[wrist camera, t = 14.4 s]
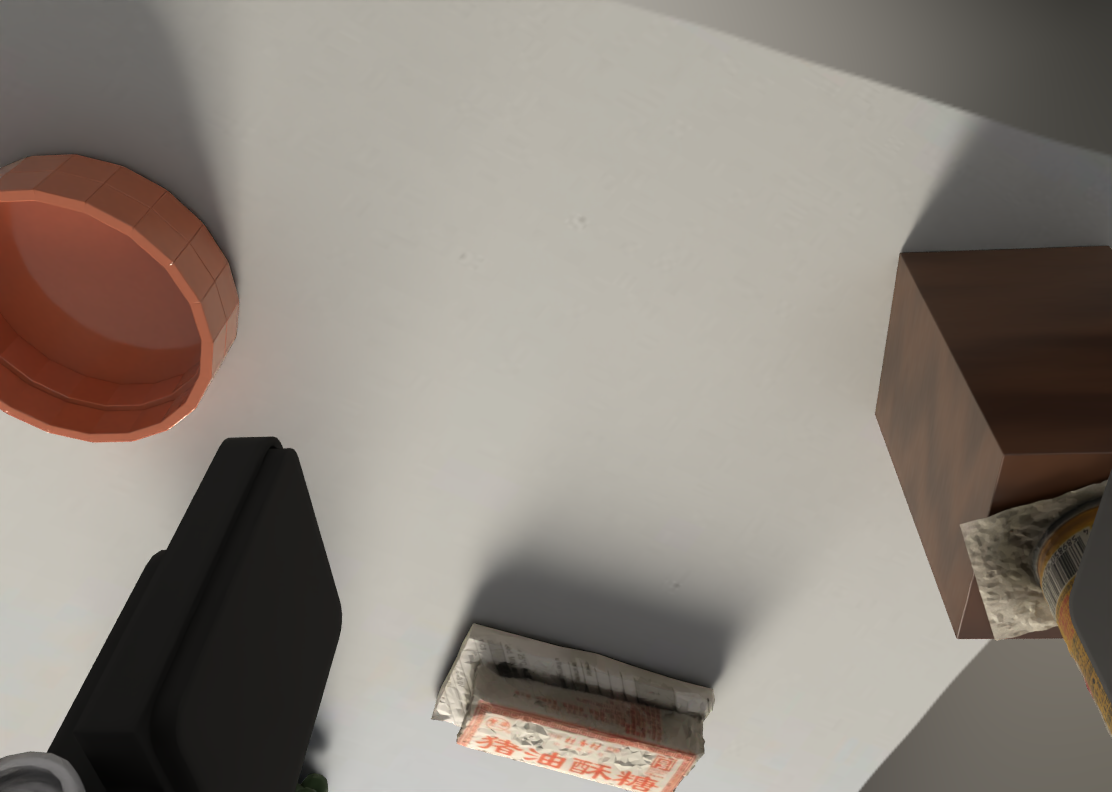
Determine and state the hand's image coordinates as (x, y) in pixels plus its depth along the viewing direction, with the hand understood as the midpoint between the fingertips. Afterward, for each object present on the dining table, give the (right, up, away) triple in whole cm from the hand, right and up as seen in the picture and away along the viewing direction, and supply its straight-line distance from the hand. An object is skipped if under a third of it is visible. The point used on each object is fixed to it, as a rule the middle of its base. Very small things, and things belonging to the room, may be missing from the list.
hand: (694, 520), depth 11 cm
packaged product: (0, -20, +59) cm, 62 cm away
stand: (+21, +5, +40) cm, 45 cm away
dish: (-26, +7, +41) cm, 49 cm away
